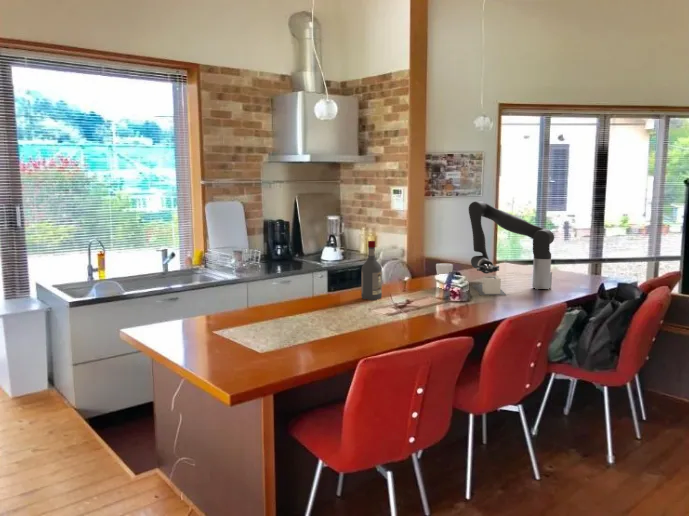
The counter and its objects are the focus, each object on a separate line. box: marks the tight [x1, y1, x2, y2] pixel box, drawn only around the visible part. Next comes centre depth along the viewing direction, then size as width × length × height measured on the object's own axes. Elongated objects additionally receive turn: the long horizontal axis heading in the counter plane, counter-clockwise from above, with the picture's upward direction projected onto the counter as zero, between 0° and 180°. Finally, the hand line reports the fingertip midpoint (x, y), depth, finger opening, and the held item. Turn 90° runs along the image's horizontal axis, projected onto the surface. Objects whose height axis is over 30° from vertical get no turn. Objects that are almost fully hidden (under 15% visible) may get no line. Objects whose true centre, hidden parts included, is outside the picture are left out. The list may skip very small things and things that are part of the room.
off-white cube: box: [482, 275, 502, 294], centre depth 315 cm, size 8×8×8 cm
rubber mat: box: [471, 284, 507, 296], centre depth 323 cm, size 28×14×1 cm, turn 177°
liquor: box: [360, 240, 383, 301], centre depth 302 cm, size 9×9×30 cm
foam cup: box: [435, 263, 454, 276], centre depth 332 cm, size 10×9×13 cm
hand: (491, 270), depth 316 cm, fingers closed
